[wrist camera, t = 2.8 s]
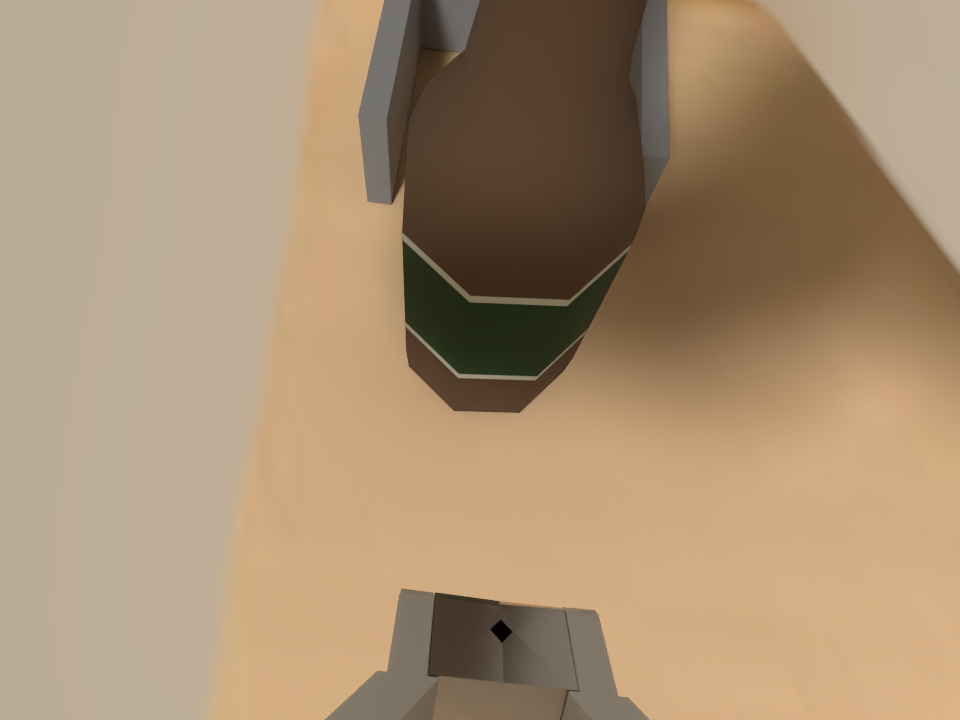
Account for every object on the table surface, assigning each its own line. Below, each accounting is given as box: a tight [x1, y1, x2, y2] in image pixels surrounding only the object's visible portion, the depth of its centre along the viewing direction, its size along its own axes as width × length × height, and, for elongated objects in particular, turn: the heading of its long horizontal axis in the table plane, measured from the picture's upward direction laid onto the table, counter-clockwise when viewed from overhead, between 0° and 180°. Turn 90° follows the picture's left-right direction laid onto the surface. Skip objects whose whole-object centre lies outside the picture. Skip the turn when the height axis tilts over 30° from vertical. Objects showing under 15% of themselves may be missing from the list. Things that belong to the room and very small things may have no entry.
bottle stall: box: [358, 0, 669, 205], centre depth 34 cm, size 13×12×6 cm
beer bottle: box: [402, 0, 647, 413], centre depth 21 cm, size 8×8×24 cm
